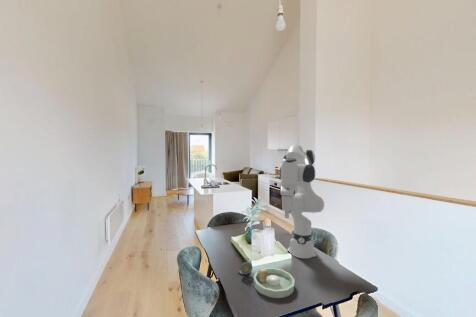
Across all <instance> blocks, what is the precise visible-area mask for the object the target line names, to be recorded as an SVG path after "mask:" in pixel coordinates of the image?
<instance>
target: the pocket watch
mask: <svg viewBox="0 0 476 317" xmlns="http://www.w3.org/2000/svg"><path fill="white" fill-rule="evenodd" d="M249 259H250V258H249V257H245V258H244V261H245V262H243V263H242V264H241V265H240V268H238V269H237V270H238V273H239V274H240V275H244V276H245V275H249V274H250V273H251V272H252V271H253V265H252V263H251V262H250V261H249Z"/></svg>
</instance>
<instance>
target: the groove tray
mask: <svg viewBox="0 0 476 317" xmlns="http://www.w3.org/2000/svg"><path fill="white" fill-rule="evenodd" d="M262 269H265V270H266V271H267V282H266V283H260V282H259V281H258V270H257V271H255V273H254V275H253V278H252V279H253V287H254V288H255V290H256V292H258V293H259V294H261V295H262V296H265V297H267V298H272V299H283V298H288V297H290V296H291V295H292V294H293V293H294V291H295V285H296V284H295V283H296V282H295V278H294V277H293V276H292V274H291V273H290V272H288V271H285V270H284V269H281V268H276V267H265V268H264V267H263V268H262Z"/></svg>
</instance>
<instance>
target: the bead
mask: <svg viewBox="0 0 476 317" xmlns="http://www.w3.org/2000/svg"><path fill="white" fill-rule="evenodd" d="M257 271H258V281H259V282H260V283H266V282H267V271H266V270H265V269H263V268H260V269H258V270H257Z"/></svg>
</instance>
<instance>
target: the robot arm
mask: <svg viewBox="0 0 476 317" xmlns="http://www.w3.org/2000/svg"><path fill="white" fill-rule="evenodd" d="M315 160H316V155H315V153H314V151H313V150H312V149H306V150H304V149H303V147H302V146H301V145H300V144H298V143H297V144H296V143H294V144H292V145H291V146H290V147H288V149H287V151H286V154H284V156H283V159H282V161H281V162H282V163H281V166H280V168H279V177H280V178H281V180H280V191H279V192H280V196H281V208H282V211H283V212H284V218H286V219H289V216H291V218H292V220H293V221H292V222H293V231H292V238H290V240H289V242H290V243H289V247H288V248H287V250H288V251H289V252H291V253H292V254H291V253H290V254H291V255H292V256H293V257H296V258H298V259H311V258H313V257H315V258H316V257H317V252H316V251H315V248H314V245H315V244H314V242H313V240H312V237H313V234H312V221H311V219H310V218H308V217H306V216H304V214H302V213H311V214H313V213H321V212H322V211H324V208H325V201H324V199H323V198H322V197H321V196H319V195H317V193H316V192H314V190H313V188H312V185H311V184H312V182H313V181H314V180H315V178H316V168H315V167H314V163H315ZM287 250H286V251H287ZM289 252H288V253H289Z"/></svg>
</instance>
